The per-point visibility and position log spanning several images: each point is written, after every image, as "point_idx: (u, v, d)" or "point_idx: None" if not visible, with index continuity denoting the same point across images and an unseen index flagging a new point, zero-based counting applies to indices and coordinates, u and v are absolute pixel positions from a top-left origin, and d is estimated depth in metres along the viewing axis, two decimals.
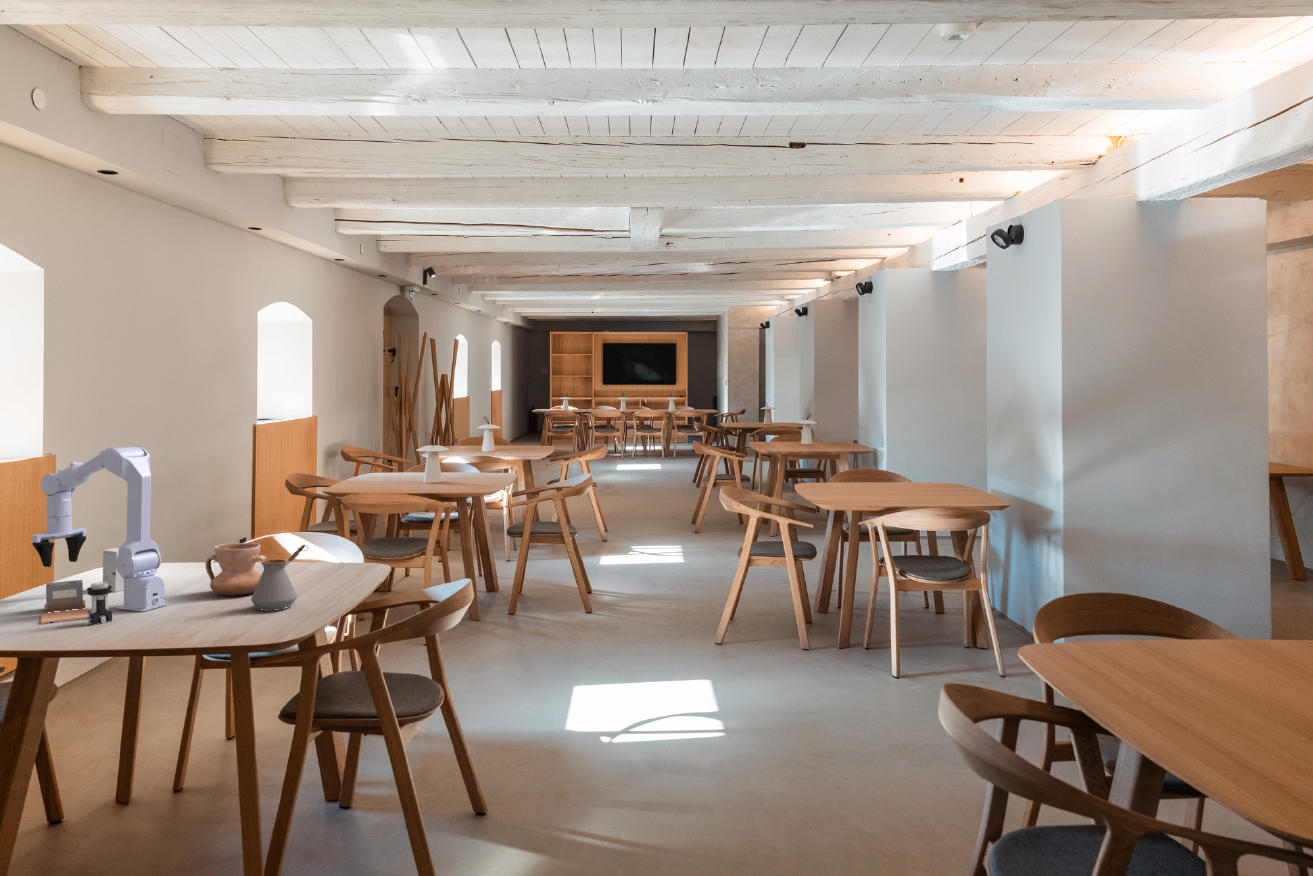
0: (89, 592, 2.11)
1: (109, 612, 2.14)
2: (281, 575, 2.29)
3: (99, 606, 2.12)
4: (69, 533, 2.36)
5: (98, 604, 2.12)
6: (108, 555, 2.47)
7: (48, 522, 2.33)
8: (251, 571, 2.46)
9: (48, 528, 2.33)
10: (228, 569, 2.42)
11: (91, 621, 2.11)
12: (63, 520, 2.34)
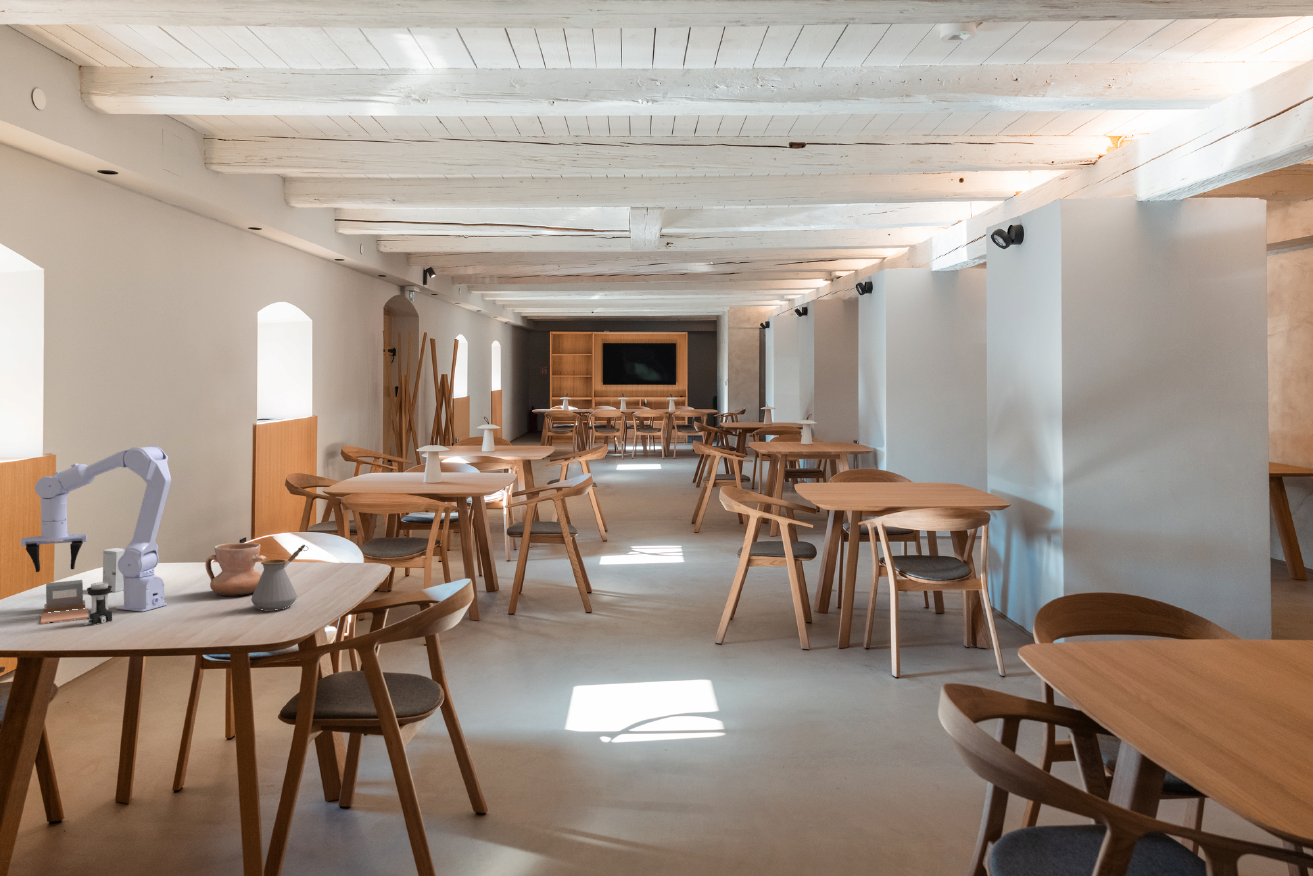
0: (89, 592, 2.11)
1: (109, 612, 2.14)
2: (281, 575, 2.29)
3: (99, 606, 2.12)
4: (55, 539, 2.24)
5: (98, 604, 2.12)
6: (108, 555, 2.47)
7: None
8: (251, 571, 2.46)
9: None
10: (228, 569, 2.42)
11: (91, 621, 2.11)
12: (48, 525, 2.24)
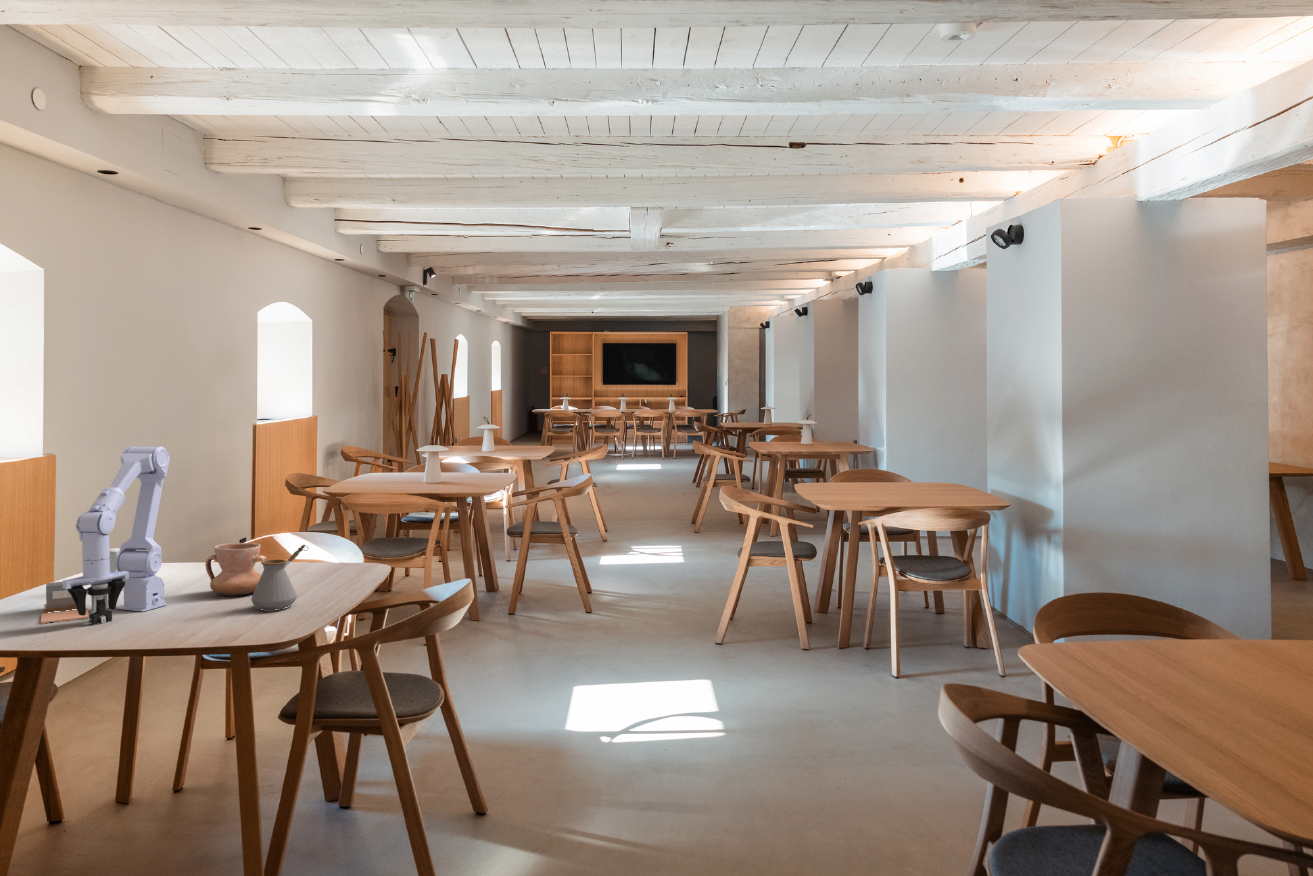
0: (89, 592, 2.11)
1: (109, 612, 2.14)
2: (281, 575, 2.29)
3: (99, 606, 2.12)
4: (104, 578, 2.11)
5: (98, 604, 2.12)
6: None
7: (83, 565, 2.10)
8: (251, 571, 2.46)
9: (83, 572, 2.10)
10: (228, 569, 2.42)
11: (91, 621, 2.11)
12: (97, 564, 2.10)
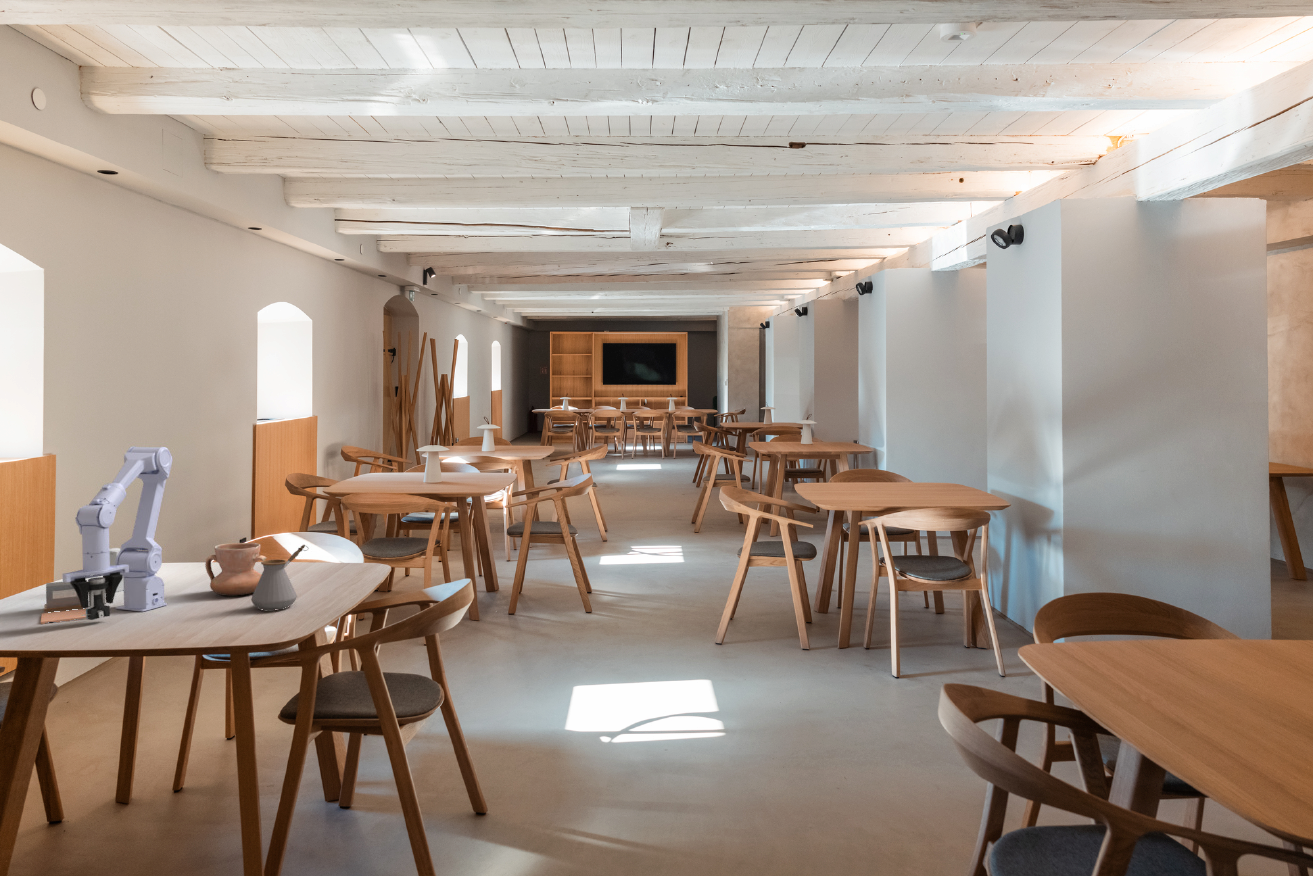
0: None
1: (107, 607, 2.14)
2: (281, 575, 2.29)
3: (96, 601, 2.12)
4: (104, 572, 2.11)
5: (95, 599, 2.12)
6: None
7: (83, 559, 2.10)
8: (251, 571, 2.46)
9: (83, 565, 2.10)
10: (228, 569, 2.42)
11: (89, 616, 2.11)
12: (97, 557, 2.10)
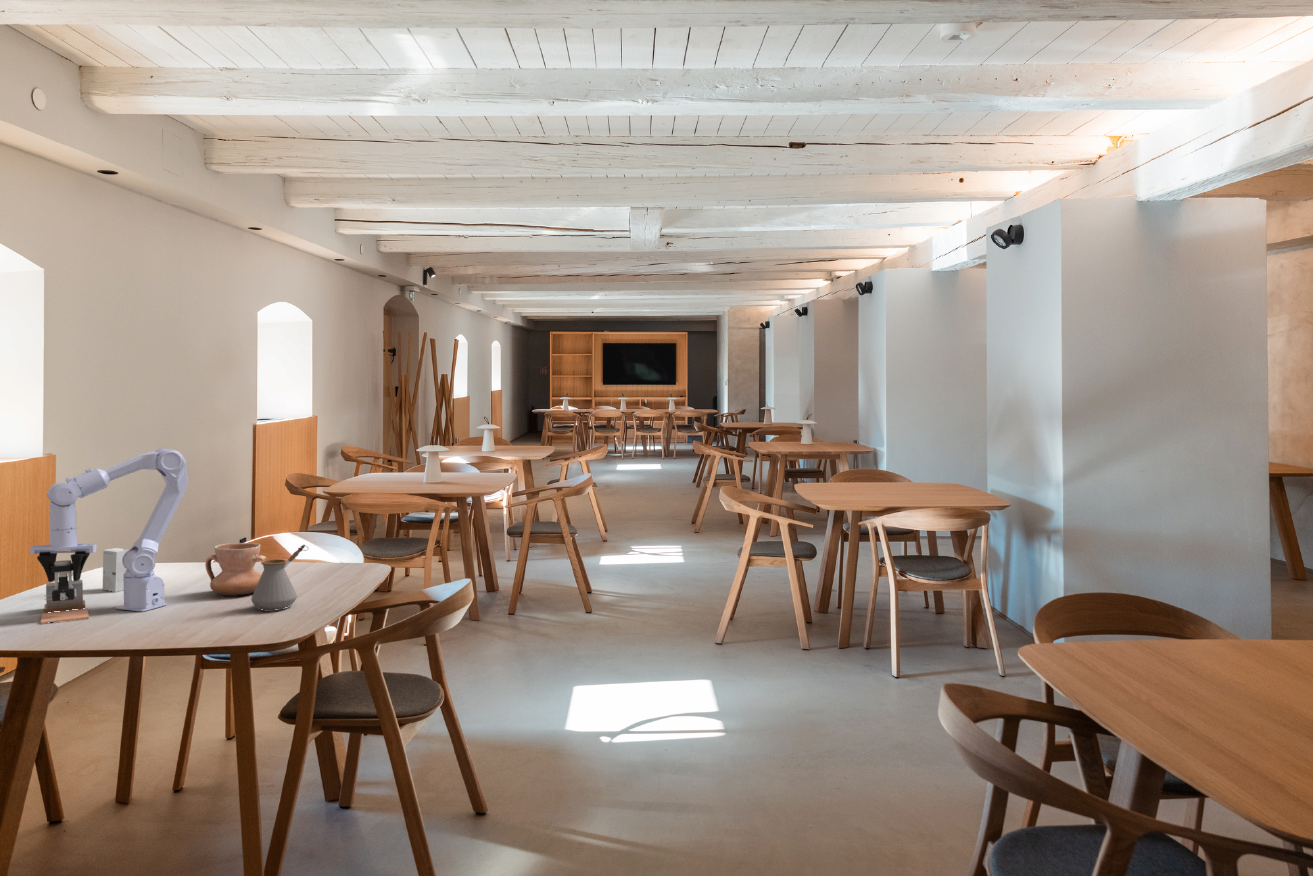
0: None
1: (70, 590, 2.17)
2: (281, 575, 2.29)
3: (59, 583, 2.16)
4: (60, 549, 2.14)
5: (59, 581, 2.16)
6: (108, 555, 2.47)
7: None
8: (251, 571, 2.46)
9: None
10: (228, 569, 2.42)
11: (52, 597, 2.15)
12: (54, 534, 2.14)
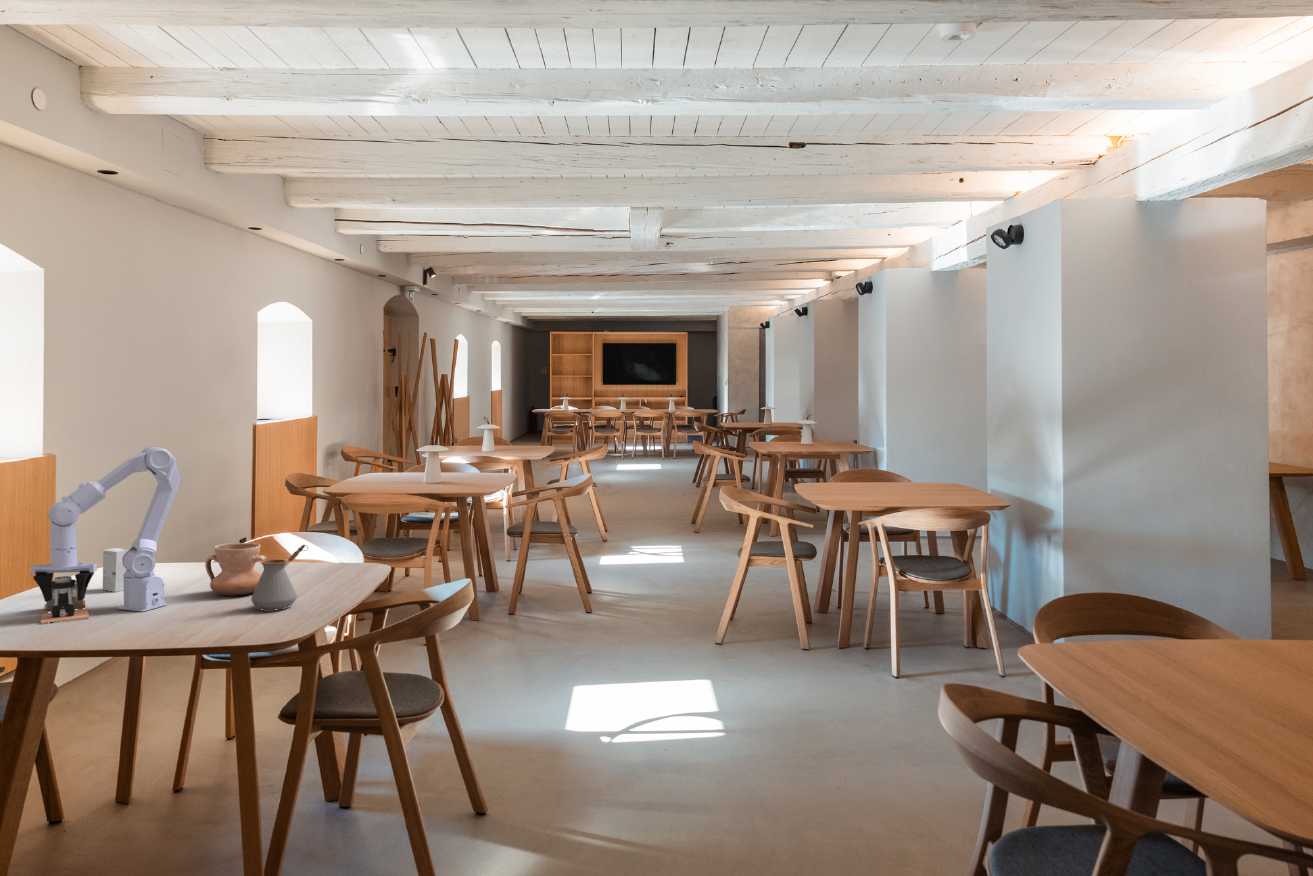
0: None
1: (70, 607, 2.17)
2: (281, 575, 2.29)
3: (59, 599, 2.16)
4: (60, 568, 2.15)
5: (59, 597, 2.16)
6: (108, 555, 2.47)
7: None
8: (251, 571, 2.46)
9: None
10: (228, 569, 2.42)
11: (52, 613, 2.15)
12: (54, 553, 2.14)
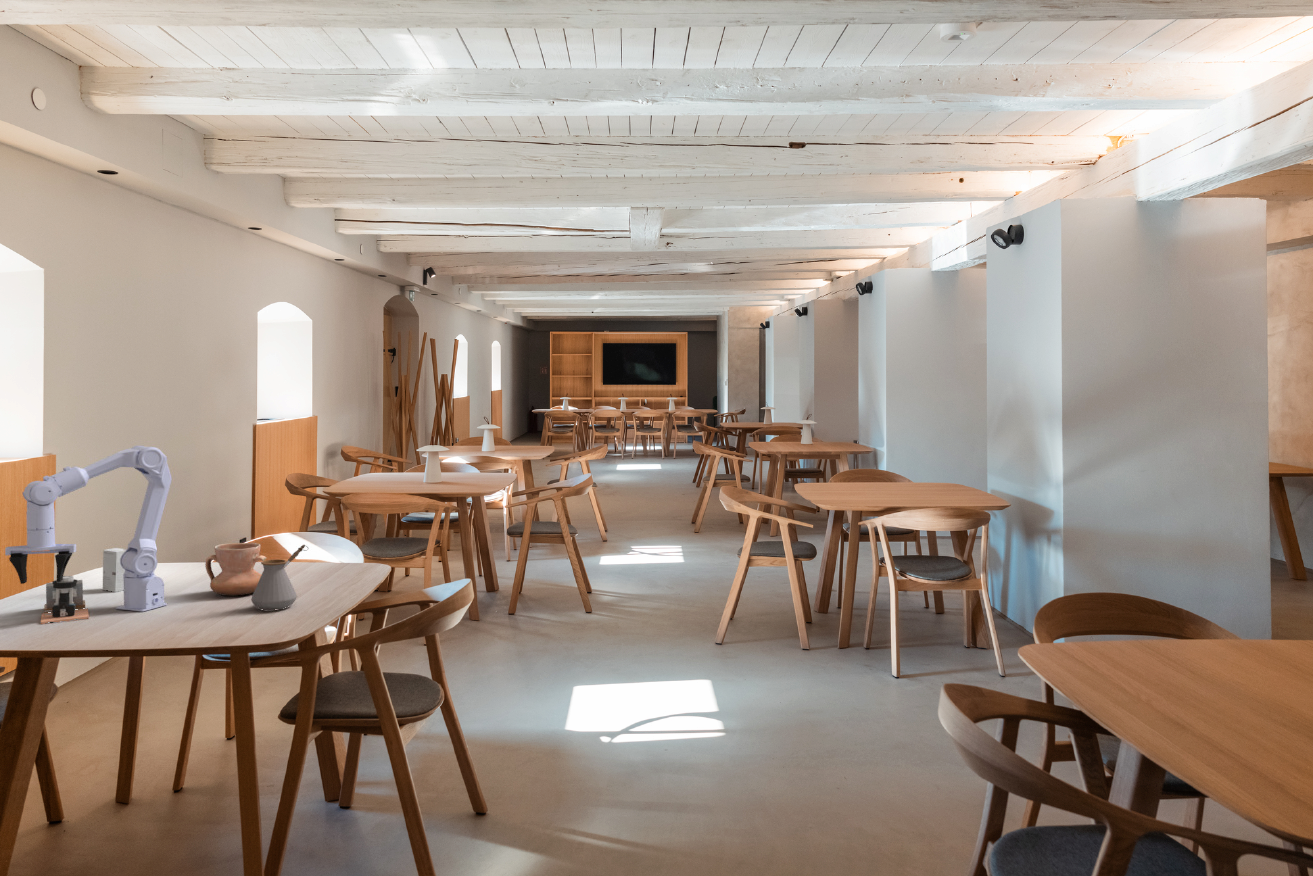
0: None
1: (71, 607, 2.17)
2: (281, 575, 2.29)
3: (60, 599, 2.16)
4: (39, 549, 2.09)
5: (60, 597, 2.16)
6: (108, 555, 2.47)
7: None
8: (251, 571, 2.46)
9: None
10: (228, 569, 2.42)
11: None
12: (32, 534, 2.09)
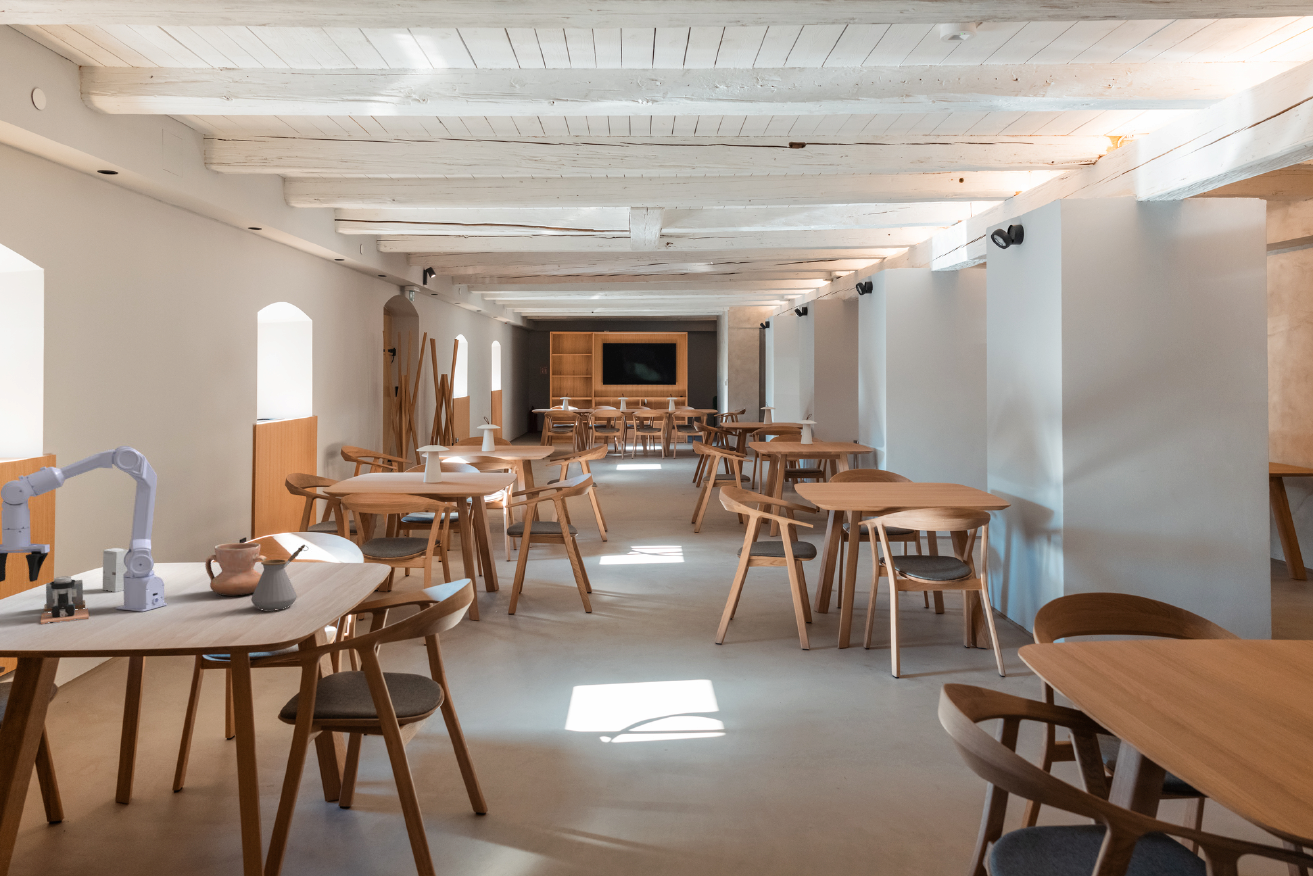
0: None
1: (70, 607, 2.17)
2: (281, 575, 2.29)
3: (59, 600, 2.15)
4: (10, 548, 2.10)
5: (59, 598, 2.16)
6: (108, 555, 2.47)
7: None
8: (251, 571, 2.46)
9: None
10: (228, 569, 2.42)
11: (52, 614, 2.15)
12: (5, 533, 2.10)
